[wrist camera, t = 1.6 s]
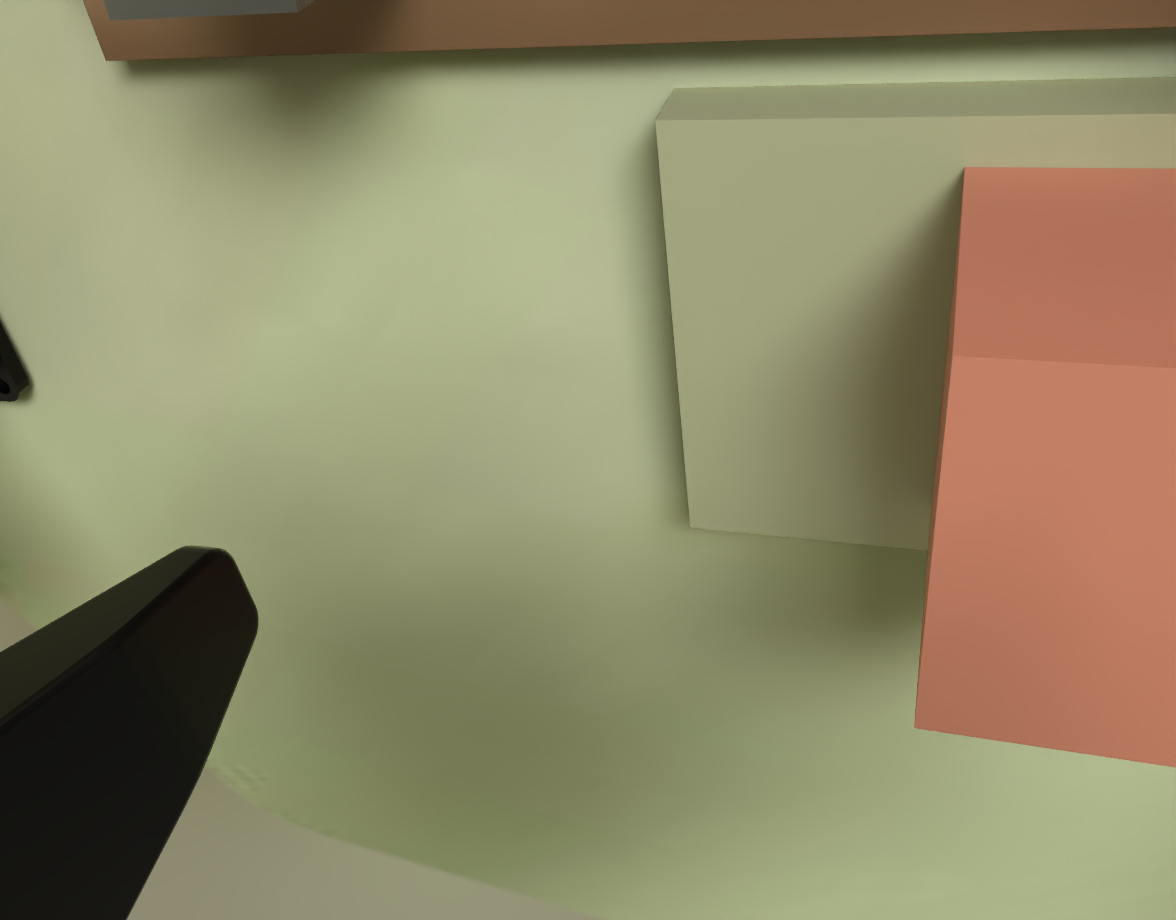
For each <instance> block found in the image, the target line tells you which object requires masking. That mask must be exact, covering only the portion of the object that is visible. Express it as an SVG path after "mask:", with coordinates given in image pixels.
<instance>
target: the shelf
mask: <svg viewBox="0 0 1176 920" xmlns="http://www.w3.org/2000/svg"><path fill="white" fill-rule="evenodd" d="M83 2H84V4H85V7H86V9H87V12H88V15H89V17H90V20H91V23H92V25H93V28H94V30H95V33H96V36H97V38H98V41H99V44H100V46H101V49H102V51H103V54H104V57H105V59H106V61H115V60H146V59H178V58H209V57H241V56H272V55H304V54H335V53H367V52H398V51H430V50H461V49H493V48H524V47H556V46H587V45H619V44H650V43H682V42H713V41H745V40H776V39H808V38H839V37H871V36H902V35H934V34H965V33H997V32H1028V31H1060V30H1091V29H1123V28H1154V27H1176V0H316V1H315V2H313V3H312V4H310V5H309V6H307V7H305V8H304V9H302V10H301V11H299V12H293V13H270V14H248V15H225V16H203V17H180V18H158V19H135V20H112V21H111V20H110V17H109V15H108V12H107V9H106V7H105V4H104V1H103V0H83Z"/></svg>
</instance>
